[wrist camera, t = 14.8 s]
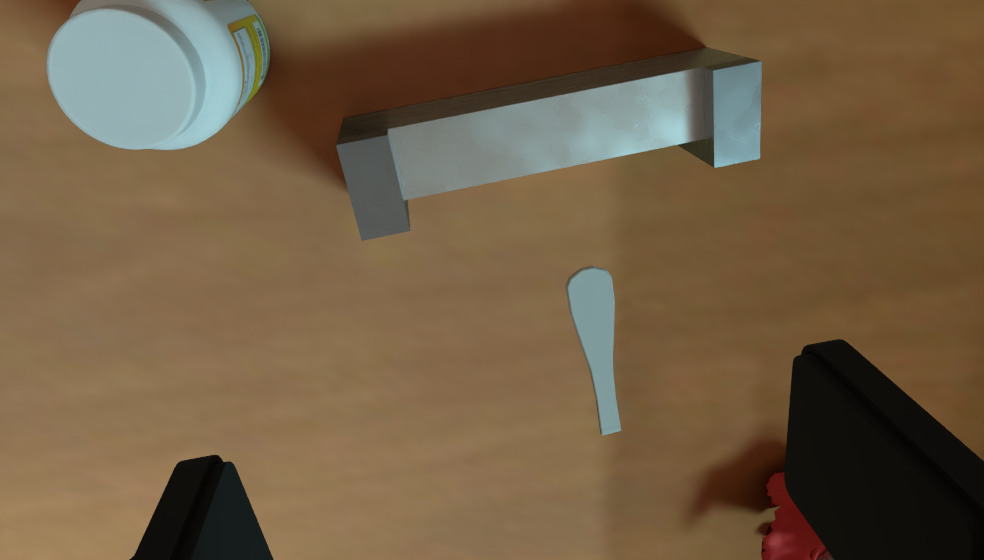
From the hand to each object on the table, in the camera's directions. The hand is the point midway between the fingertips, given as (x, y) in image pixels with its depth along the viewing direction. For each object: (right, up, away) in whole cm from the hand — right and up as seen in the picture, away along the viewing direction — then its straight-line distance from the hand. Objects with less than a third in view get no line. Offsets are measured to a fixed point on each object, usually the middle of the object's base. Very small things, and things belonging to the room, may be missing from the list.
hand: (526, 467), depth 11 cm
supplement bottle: (-13, +13, +17) cm, 25 cm away
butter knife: (+7, -6, +29) cm, 31 cm away
